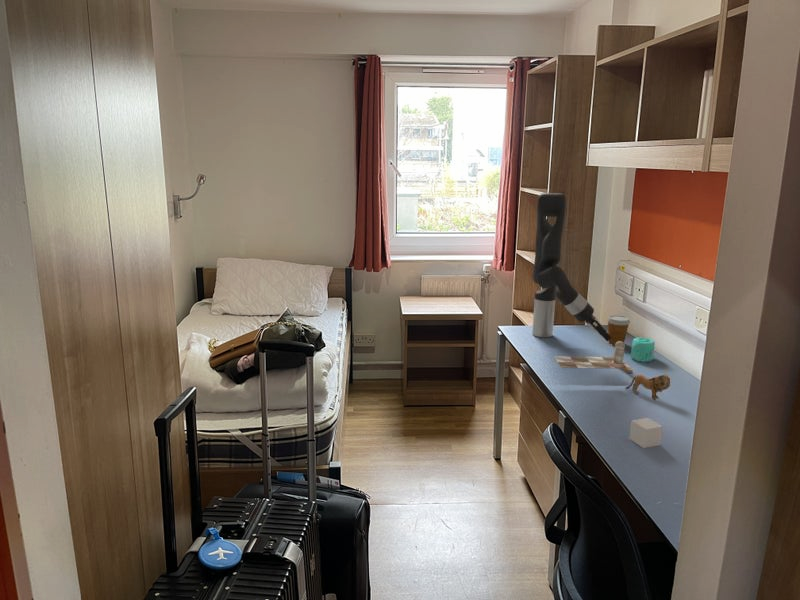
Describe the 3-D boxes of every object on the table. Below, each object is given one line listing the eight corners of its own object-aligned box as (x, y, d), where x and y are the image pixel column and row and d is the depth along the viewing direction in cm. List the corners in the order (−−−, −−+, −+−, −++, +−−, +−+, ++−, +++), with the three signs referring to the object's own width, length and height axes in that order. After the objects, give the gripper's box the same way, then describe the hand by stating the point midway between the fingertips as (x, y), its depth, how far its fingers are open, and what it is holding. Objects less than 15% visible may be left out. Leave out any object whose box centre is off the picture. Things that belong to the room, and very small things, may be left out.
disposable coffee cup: (618, 339, 266) (621, 314, 263) (632, 346, 257) (635, 320, 255) (600, 341, 264) (602, 315, 261) (613, 348, 255) (616, 321, 252)
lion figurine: (670, 399, 203) (673, 374, 201) (665, 403, 199) (668, 378, 197) (628, 387, 212) (630, 364, 210) (622, 391, 209) (624, 368, 206)
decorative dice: (630, 360, 241) (632, 341, 239) (632, 354, 247) (634, 336, 245) (651, 363, 237) (653, 344, 235) (652, 357, 244) (655, 339, 242)
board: (550, 358, 241) (550, 355, 241) (618, 359, 241) (619, 356, 240) (559, 372, 226) (559, 368, 226) (632, 373, 226) (632, 369, 226)
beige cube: (645, 436, 176) (648, 417, 175) (660, 445, 171) (662, 426, 169) (629, 438, 174) (631, 420, 173) (643, 448, 169) (646, 429, 167)
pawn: (609, 363, 232) (612, 339, 230) (621, 363, 232) (624, 339, 230) (613, 367, 228) (616, 343, 225) (625, 367, 228) (628, 343, 225)
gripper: (591, 305, 217) (619, 335, 220) (580, 295, 231) (607, 324, 234) (576, 319, 218) (604, 348, 221) (566, 308, 232) (592, 336, 235)
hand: (605, 335), depth 227 cm, fingers open, 8 cm apart
